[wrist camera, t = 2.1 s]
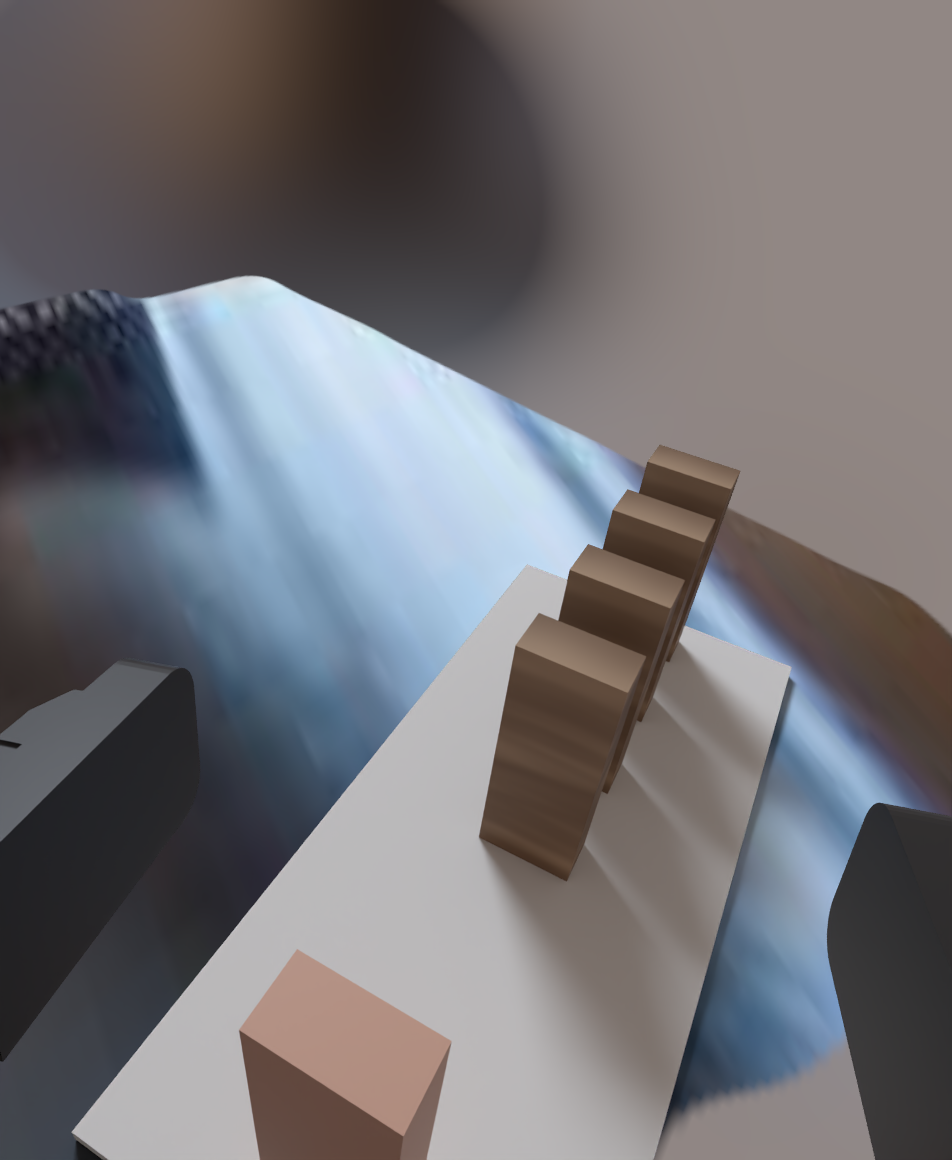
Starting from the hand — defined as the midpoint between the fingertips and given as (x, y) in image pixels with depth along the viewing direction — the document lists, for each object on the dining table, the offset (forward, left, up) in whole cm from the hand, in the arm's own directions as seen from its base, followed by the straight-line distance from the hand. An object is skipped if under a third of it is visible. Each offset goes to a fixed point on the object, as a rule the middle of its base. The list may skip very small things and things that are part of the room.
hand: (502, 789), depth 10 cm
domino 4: (+9, +12, -22) cm, 26 cm away
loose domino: (-1, +2, -22) cm, 22 cm away
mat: (+9, +12, -22) cm, 27 cm away
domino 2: (+16, +19, -22) cm, 33 cm away
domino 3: (+12, +15, -22) cm, 29 cm away
